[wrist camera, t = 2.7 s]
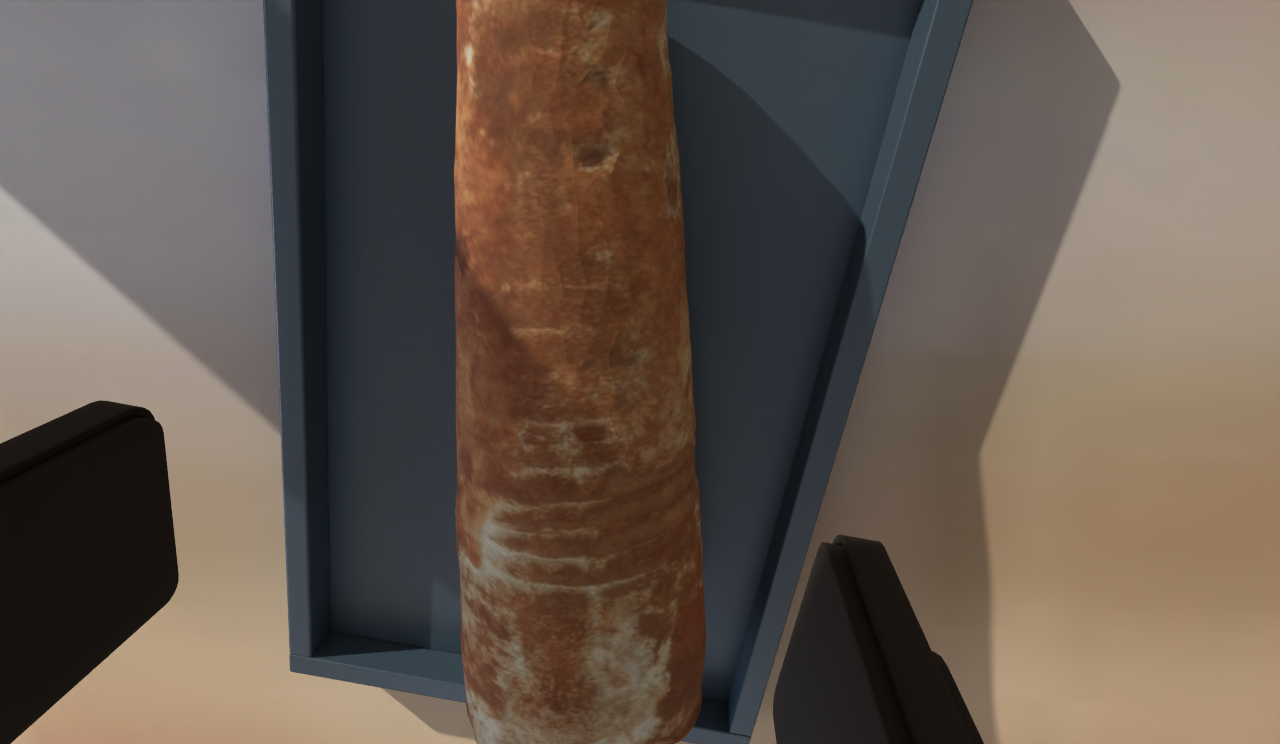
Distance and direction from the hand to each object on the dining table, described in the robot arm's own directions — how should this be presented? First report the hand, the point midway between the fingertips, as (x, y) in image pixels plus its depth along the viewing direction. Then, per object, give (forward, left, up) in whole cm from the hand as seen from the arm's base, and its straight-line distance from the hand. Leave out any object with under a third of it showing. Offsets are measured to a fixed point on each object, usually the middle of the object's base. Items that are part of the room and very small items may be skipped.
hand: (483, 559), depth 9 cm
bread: (0, 0, -9) cm, 9 cm away
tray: (0, 0, -9) cm, 9 cm away
